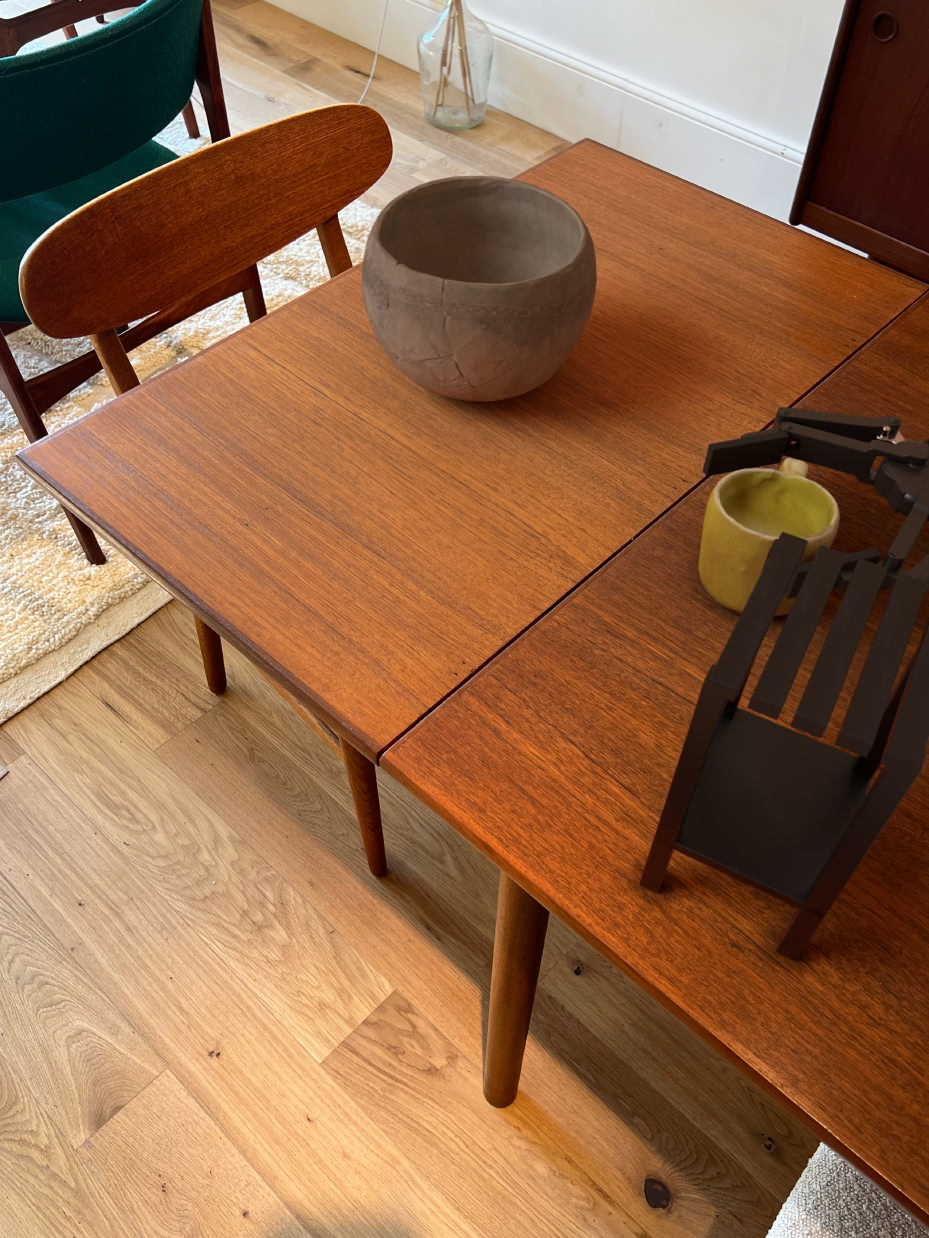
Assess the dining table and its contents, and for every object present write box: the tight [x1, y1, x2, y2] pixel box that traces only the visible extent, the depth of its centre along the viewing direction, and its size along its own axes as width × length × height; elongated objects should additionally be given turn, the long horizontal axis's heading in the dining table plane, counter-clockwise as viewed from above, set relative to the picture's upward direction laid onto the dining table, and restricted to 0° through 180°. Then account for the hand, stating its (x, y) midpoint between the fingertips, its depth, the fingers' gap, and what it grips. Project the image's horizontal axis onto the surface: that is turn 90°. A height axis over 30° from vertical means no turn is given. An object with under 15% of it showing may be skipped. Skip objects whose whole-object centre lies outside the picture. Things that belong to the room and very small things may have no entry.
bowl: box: [361, 175, 598, 402], centre depth 90 cm, size 21×21×15 cm
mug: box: [698, 457, 841, 617], centre depth 76 cm, size 12×10×10 cm
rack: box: [638, 532, 929, 962], centre depth 55 cm, size 10×11×21 cm
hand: (746, 518), depth 74 cm, fingers open, 13 cm apart
